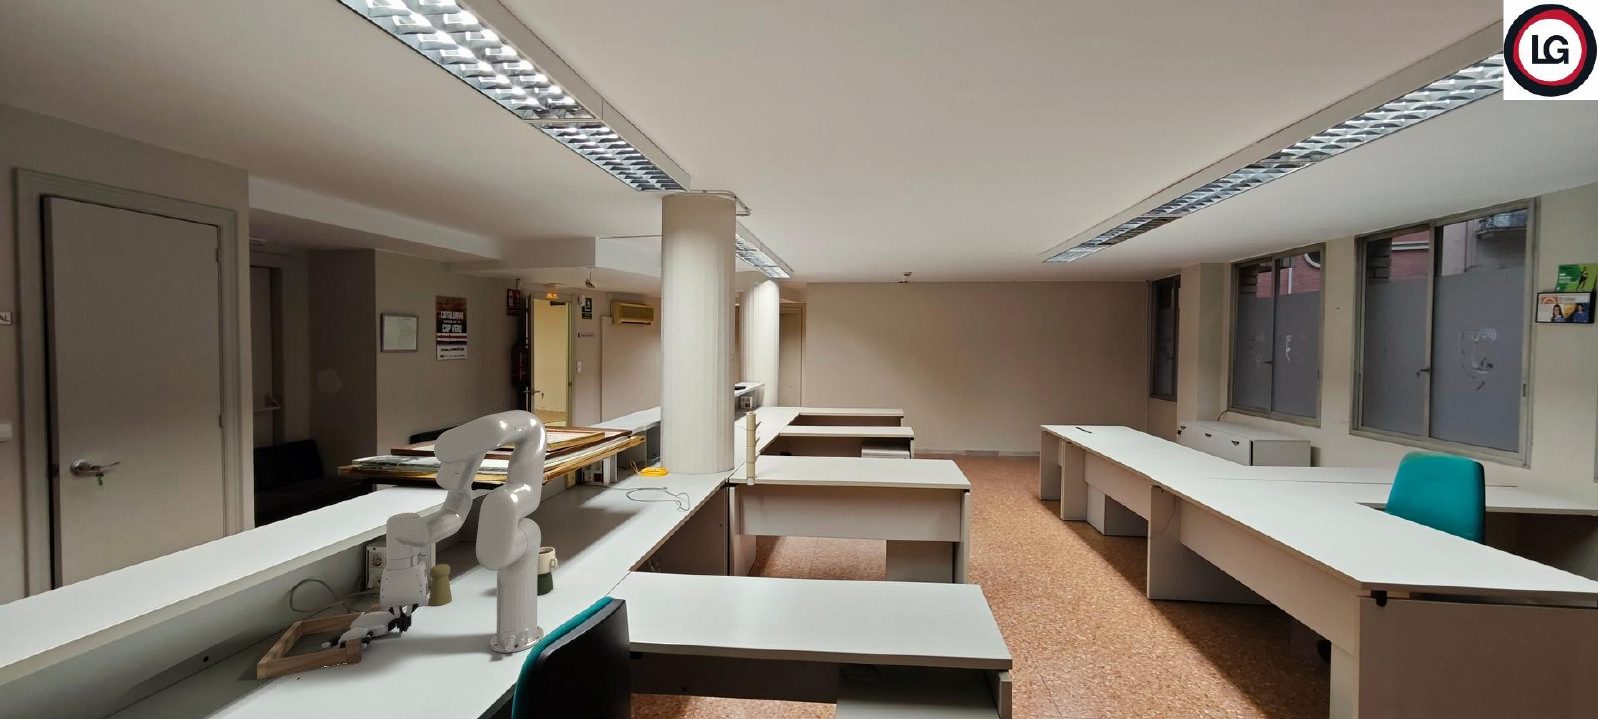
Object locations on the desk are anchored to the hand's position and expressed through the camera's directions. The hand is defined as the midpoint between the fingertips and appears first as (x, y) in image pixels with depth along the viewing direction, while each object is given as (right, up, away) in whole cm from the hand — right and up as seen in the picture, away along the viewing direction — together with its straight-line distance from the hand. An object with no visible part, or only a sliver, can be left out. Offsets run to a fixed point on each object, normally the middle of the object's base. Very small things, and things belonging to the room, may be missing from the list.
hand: (404, 629), depth 151 cm
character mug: (+24, -1, +27) cm, 37 cm away
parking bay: (-15, -1, -7) cm, 17 cm away
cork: (-3, -1, +20) cm, 20 cm away
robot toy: (-8, -2, -3) cm, 9 cm away
